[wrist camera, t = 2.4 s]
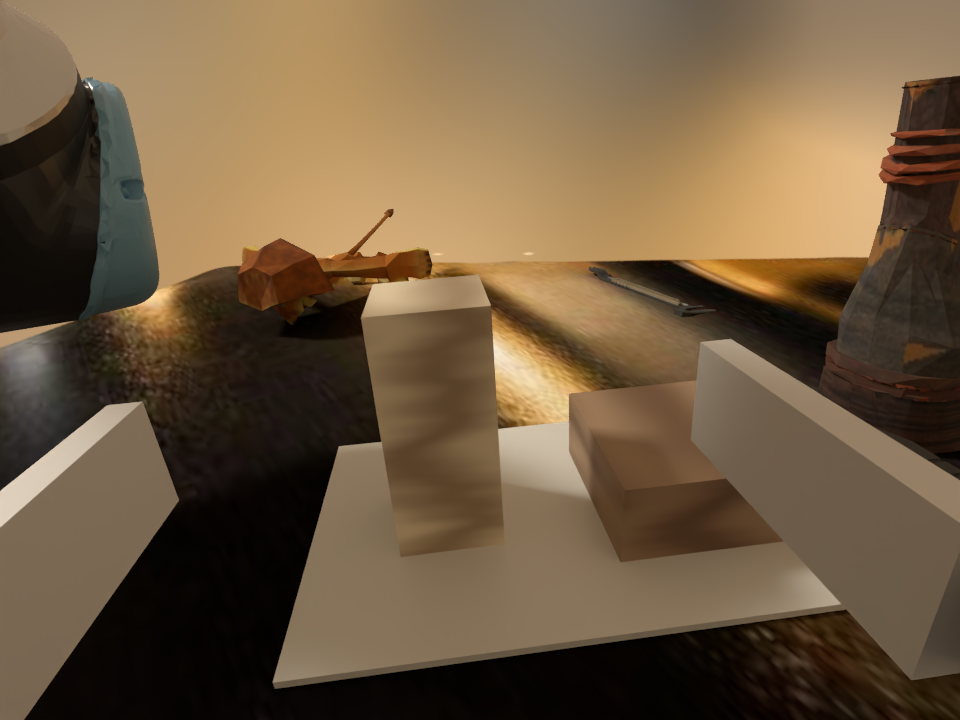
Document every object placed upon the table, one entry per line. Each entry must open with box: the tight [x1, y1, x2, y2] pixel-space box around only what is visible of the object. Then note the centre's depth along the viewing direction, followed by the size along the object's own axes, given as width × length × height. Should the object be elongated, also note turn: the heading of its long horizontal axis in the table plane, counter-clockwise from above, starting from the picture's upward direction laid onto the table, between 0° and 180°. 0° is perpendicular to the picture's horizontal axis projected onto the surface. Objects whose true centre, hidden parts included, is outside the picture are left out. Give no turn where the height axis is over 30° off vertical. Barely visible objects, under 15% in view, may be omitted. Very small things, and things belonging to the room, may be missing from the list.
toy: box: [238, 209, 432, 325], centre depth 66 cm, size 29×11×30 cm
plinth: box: [569, 380, 783, 562], centre depth 27 cm, size 9×9×4 cm
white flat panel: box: [273, 421, 846, 689], centre depth 27 cm, size 26×16×1 cm, turn 96°
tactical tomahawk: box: [589, 267, 716, 316], centre depth 63 cm, size 21×7×1 cm, turn 19°
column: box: [361, 275, 505, 557], centre depth 24 cm, size 5×5×12 cm
